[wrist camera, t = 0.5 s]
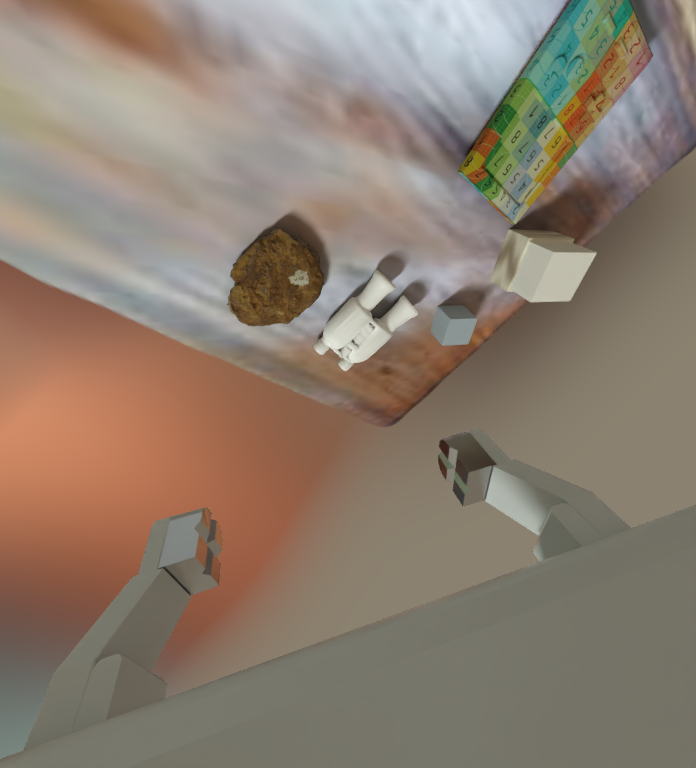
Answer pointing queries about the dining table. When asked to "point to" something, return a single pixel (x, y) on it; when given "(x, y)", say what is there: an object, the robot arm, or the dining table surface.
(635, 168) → the dining table surface
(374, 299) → the binoculars
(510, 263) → the birch slab
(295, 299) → the decorative rock
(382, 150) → the dining table surface
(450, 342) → the grey cube
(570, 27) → the puzzle game
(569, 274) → the white block
